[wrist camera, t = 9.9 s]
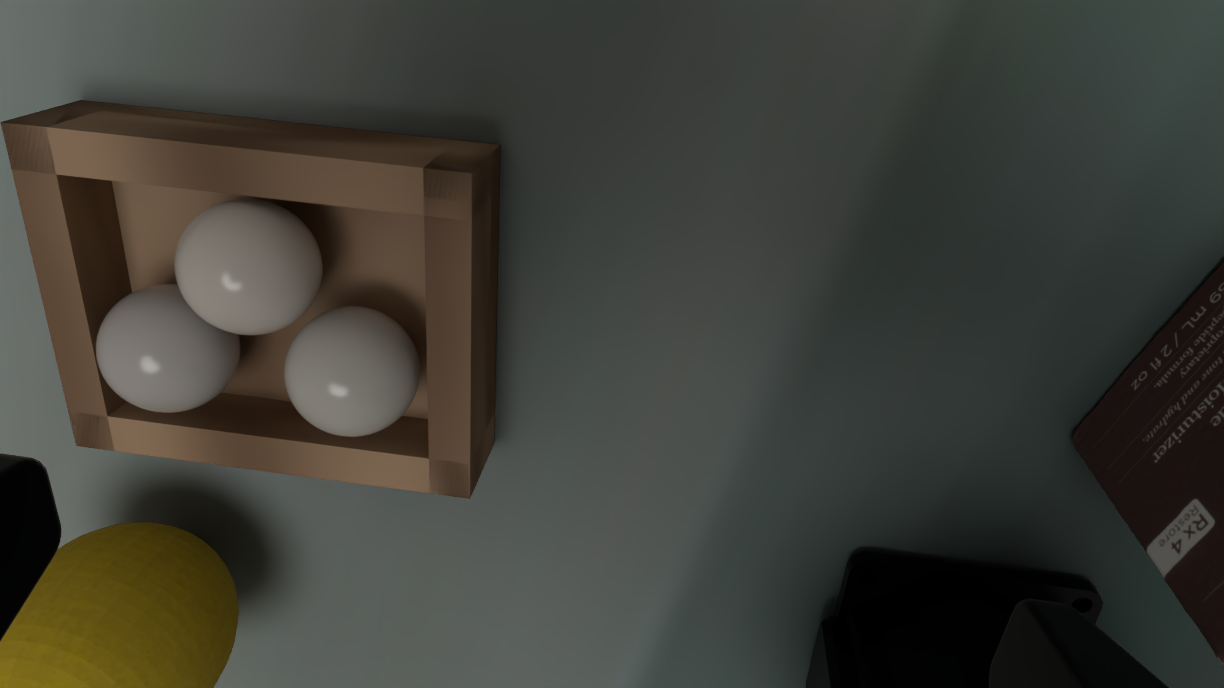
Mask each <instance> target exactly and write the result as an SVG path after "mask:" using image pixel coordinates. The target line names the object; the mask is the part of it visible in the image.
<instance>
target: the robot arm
mask: <svg viewBox="0 0 1224 688" xmlns="http://www.w3.org/2000/svg"><path fill="white" fill-rule="evenodd" d="M60 538H61V524H60V520H59V516H58V512H57V508H56V504H55V500H54V496H53V492H52V488H51V484H50V480H49V477H48V473H47V470H46V468H45V467H44V466H43V465H42V463H41V462H40V461H38V460H36V459H33V458H29V457H22V456H15V455H8V454H0V641H1V640H2V638H3V637H4V635H5V633H6V632H7V630H8V629H9V627H10V625H11V624H12V622H13V621H14V619H15V618H16V616H17V614H18V613H19V611H20V610H21V608H22V606H23V605H24V603H25V602H26V600H27V598H28V597H29V595H30V594H31V592H32V591H33V589H34V587H35V586H36V584H37V583H38V581H39V579H40V578H41V576H42V575H43V573H44V571H45V570H46V568H47V567H48V565H49V564H50V562H51V560H52V559H53V557H54V555H55V553H56V551H57V549H58V546H59V543H60ZM864 569H873V570H874V571H873V572H871V573H868V574H863V573H861V572H860V571H862V570H864ZM1079 598H1085V599H1084V600H1082V601H1080V602H1074V601H1075V600H1077V599H1079ZM1102 604H1103V602H1102V599H1101V597H1100V595H1099V593H1098V592H1097V590H1096V588H1095V586H1094V585H1092V584H1091V583H1090V582H1087V581H1084V580H1078V579H1071V578H1063V577H1056V576H1048V575H1041V574H1033V573H1026V572H1018V571H1011V570H1003V569H996V568H989V567H981V566H974V565H966V564H959V563H951V562H944V561H936V560H929V559H921V558H914V557H907V556H899V555H892V554H884V553H877V552H860V553H857V554H855V555H854V556H852V557H851V558H850V559H849V561H848V563H847V566H846V570H845V574H844V578H843V582H842V586H841V590H840V594H839V598H838V602H837V606H836V610H835V614H834V616H828V617H827V618H825V619H824V620H823V621H822V622H821V623H820V627H819V631H818V635H817V639H816V644H815V648H814V652H813V656H812V660H811V664H810V668H809V672H808V676H807V680H806V688H1169V687H1167V686H1166V685H1165V684H1164V683H1163V682H1162V681H1160V680H1159V679H1158V678H1157V677H1156V676H1154V675H1153V674H1152V673H1151V672H1150V671H1149V670H1147V669H1146V668H1145V667H1144V666H1143V665H1142V664H1140V663H1139V662H1138V661H1137V660H1136V659H1134V658H1133V657H1132V656H1131V655H1130V654H1129V653H1127V652H1126V651H1125V650H1124V649H1123V648H1122V647H1120V646H1119V645H1118V644H1117V643H1116V642H1114V641H1113V640H1112V639H1111V638H1110V637H1109V636H1107V635H1106V634H1105V633H1104V632H1103V631H1102V630H1100V629H1099V628H1098V627H1097V626H1096V625H1095V623H1096V620H1097V618H1098V616H1099V613H1100V611H1101V609H1102Z"/></svg>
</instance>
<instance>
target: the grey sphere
mask: <svg viewBox="0 0 1224 688" xmlns="http://www.w3.org/2000/svg"><path fill="white" fill-rule="evenodd" d="M284 381H285V386H286V390H287V393H288V395H289V398H290V400H291V402H292V404H293V405H294V407H295V408H296V410H297V411H298V412H299V414H300V415H301V416H302V417H303V418H304V419H306V420H307V421H308V422H309V423H310V424H312V425H313V426H315V427H317V428H318V429H320V430H322V431H325V432H327V433H330V434H333V435H338V436H347V437H359V436H365V435H370V434H373V433H376V432H378V431H380V430H383V429H385V428H387V427H388V426H390V425H391V424H393V423H394V422H395V421H397V420H398V419H399V418H400V417H401V416H402V415H403V414H404V413H405V411H406V410H407V409H408V408H409V406H410V405H411V403H412V401H413V399H414V397H415V395H416V392H417V390H418V385H419V381H420V360H419V356H418V352H417V350H416V347H415V344H414V342H413V341H412V339H411V337H410V336H409V334H408V333H407V331H406V330H405V329H404V328H403V327H402V326H401V325H400V324H399V323H398V322H397V321H395V320H394V319H393V318H391V317H390V316H388V315H386V314H384V313H382V312H380V311H378V310H374V309H371V308H366V307H360V306H345V307H339V308H334V309H331V310H328V311H326V312H323V313H321V314H319V315H317V316H316V317H314V318H313V319H311V320H310V321H309V322H308V323H306V324H305V325H304V326H303V327H302V328H301V329H300V330H299V332H298V333H297V334H296V336H295V337H294V339H293V340H292V342H291V344H290V346H289V349H288V351H287V355H286V358H285V364H284Z"/></svg>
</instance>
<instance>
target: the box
mask: <svg viewBox="0 0 1224 688" xmlns="http://www.w3.org/2000/svg"><path fill="white" fill-rule="evenodd" d="M1073 445H1074V447H1075V449H1076V450H1077V451H1078V453H1079V454H1080V456H1081V457H1082V459H1083V460H1084V461H1085V463H1086V464H1087V466H1088V468H1089V469H1090V470H1091V472H1092V473H1093V475H1094V476H1095V478H1096V479H1097V481H1098V482H1099V484H1100V485H1101V487H1102V488H1103V489H1104V491H1105V492H1106V494H1107V495H1108V497H1109V498H1110V500H1111V501H1112V502H1113V504H1114V505H1115V507H1116V509H1117V510H1118V512H1119V513H1120V515H1121V516H1122V518H1123V519H1124V520H1125V522H1126V523H1127V524H1128V526H1129V528H1130V529H1131V531H1132V532H1133V533H1134V535H1135V536H1136V538H1137V539H1138V541H1139V542H1140V543H1141V545H1142V546H1143V547H1144V549H1145V551H1146V552H1147V554H1148V556H1149V557H1150V558H1151V560H1152V562H1153V563H1154V565H1155V566H1156V568H1157V569H1158V570H1159V572H1160V573H1161V575H1162V576H1163V578H1164V579H1165V581H1166V583H1167V584H1168V585H1169V586H1170V588H1171V589H1172V591H1173V592H1174V594H1175V596H1176V597H1177V599H1178V600H1179V601H1180V603H1181V604H1182V606H1183V608H1184V609H1185V611H1186V612H1187V613H1188V615H1189V616H1190V617H1191V618H1192V620H1193V621H1194V622H1195V624H1196V625H1197V627H1198V628H1199V630H1200V631H1201V633H1202V634H1203V636H1204V637H1205V639H1206V640H1207V642H1208V643H1209V645H1210V646H1211V648H1212V649H1213V651H1214V652H1215V655H1216V657H1217V659H1218V660H1219V662H1220V663H1221V664H1222V665H1224V262H1223V263H1222V264H1221V265H1220V266H1219V267H1218V269H1217V270H1216V271H1215V272H1214V273H1213V274H1212V275H1211V276H1210V277H1209V279H1208V280H1207V281H1206V282H1205V283H1204V284H1203V285H1202V286H1201V287H1200V288H1199V289H1198V290H1197V292H1196V293H1195V294H1194V295H1193V296H1192V297H1191V298H1190V300H1189V301H1188V302H1187V303H1186V304H1185V305H1184V306H1183V307H1182V309H1181V310H1180V311H1179V312H1178V313H1177V314H1176V315H1175V316H1174V317H1173V318H1172V319H1171V320H1170V321H1169V323H1168V324H1167V325H1166V326H1165V327H1164V328H1163V330H1162V331H1161V332H1160V333H1158V334H1157V335H1156V337H1155V338H1154V339H1153V340H1152V342H1150V343H1149V344H1148V346H1147V347H1146V349H1145V350H1144V351H1143V352H1142V353H1141V354H1140V355H1139V356H1138V357H1137V359H1136V360H1135V361H1134V362H1133V363H1132V364H1131V365H1130V367H1129V368H1128V369H1127V370H1126V371H1125V372H1124V373H1123V375H1122V376H1121V377H1120V378H1119V380H1118V381H1117V382H1116V383H1115V385H1114V386H1113V387H1112V388H1111V389H1110V390H1109V391H1108V392H1107V394H1106V395H1105V396H1104V398H1103V399H1102V400H1101V401H1100V403H1099V404H1098V405H1097V407H1096V408H1095V409H1094V410H1093V411H1092V412H1091V413H1090V414H1089V415H1088V416H1087V417H1086V418H1085V419H1084V421H1083V422H1082V423H1081V424H1080V426H1079V427H1078V428H1077V429H1076V431H1075V433H1074V436H1073Z"/></svg>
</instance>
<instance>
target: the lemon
mask: <svg viewBox="0 0 1224 688" xmlns="http://www.w3.org/2000/svg"><path fill="white" fill-rule="evenodd" d="M238 616H239V608H238V600H237V594H236V589H235V585H234V581H233V579H232V577H231V575H230V573H229V571H228V569H227V567H226V565H225V563H224V562H223V560H222V559H221V558H220V557H219V555H218V554H217V553H216V551H215V550H214V549H212V548H211V547H210V546H209V545H208V544H207V543H205V542H204V541H203V540H201V539H200V538H198V537H196V536H195V535H193V534H191V533H190V532H187V531H185V530H182V529H180V528H177V527H174V526H170V525H164V524H158V523H153V522H139V523H121V524H117V525H112V526H109V527H105V528H102V529H99V530H95V531H92V532H90V533H87V534H84V535H82V536H80V537H78V538H76V539H74V540H72V541H70V542H68V543H67V544H65V545H64V546H62V547H61V548H59V549H58V550H57V551H56V553H55V555H54V557H53V559H52V560H51V562H50V564H49V565H48V567H47V568H46V570H45V571H44V573H43V575H42V576H41V578H40V579H39V581H38V583H37V584H36V586H35V587H34V589H33V591H32V592H31V594H30V595H29V597H28V598H27V600H26V602H25V603H24V605H23V606H22V608H21V610H20V611H19V613H18V614H17V616H16V618H15V619H14V621H13V622H12V624H11V625H10V627H9V629H8V630H7V632H6V633H5V635H4V637H3V638H2V640H1V641H0V688H213V687H214V686H215V684H216V682H217V681H218V679H219V677H220V675H221V673H222V672H223V670H224V668H225V666H226V664H227V661H228V659H229V657H230V654H231V652H232V648H233V645H234V641H235V635H236V629H237V623H238Z"/></svg>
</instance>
